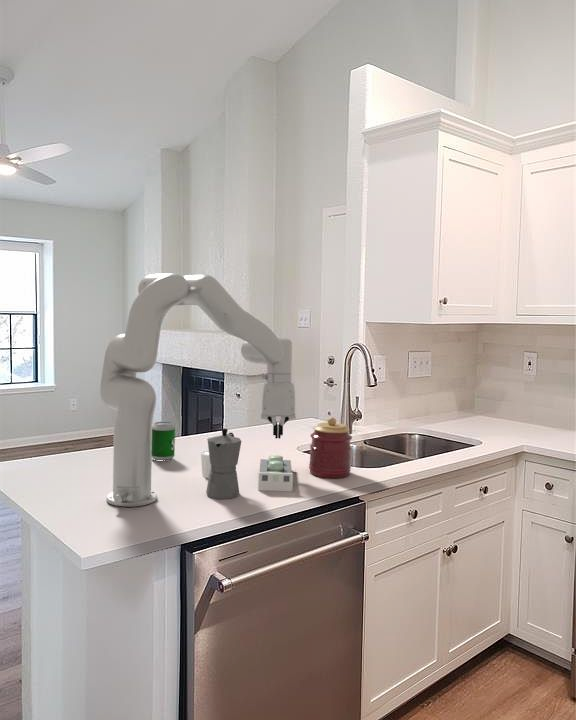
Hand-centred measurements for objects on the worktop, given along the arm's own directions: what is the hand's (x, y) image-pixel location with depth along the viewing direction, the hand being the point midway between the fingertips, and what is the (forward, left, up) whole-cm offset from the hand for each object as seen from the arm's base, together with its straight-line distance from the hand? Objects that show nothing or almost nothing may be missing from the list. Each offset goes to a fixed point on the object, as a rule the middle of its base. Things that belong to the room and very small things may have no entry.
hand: (277, 437), depth 188 cm
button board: (-7, 0, -11) cm, 13 cm away
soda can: (+12, +37, -11) cm, 41 cm away
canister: (+1, -17, -11) cm, 20 cm away
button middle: (-7, 0, -9) cm, 11 cm away
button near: (-14, 0, -10) cm, 18 cm away
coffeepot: (-23, +14, -11) cm, 29 cm away
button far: (0, 0, -9) cm, 9 cm away
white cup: (-6, +19, -11) cm, 23 cm away
